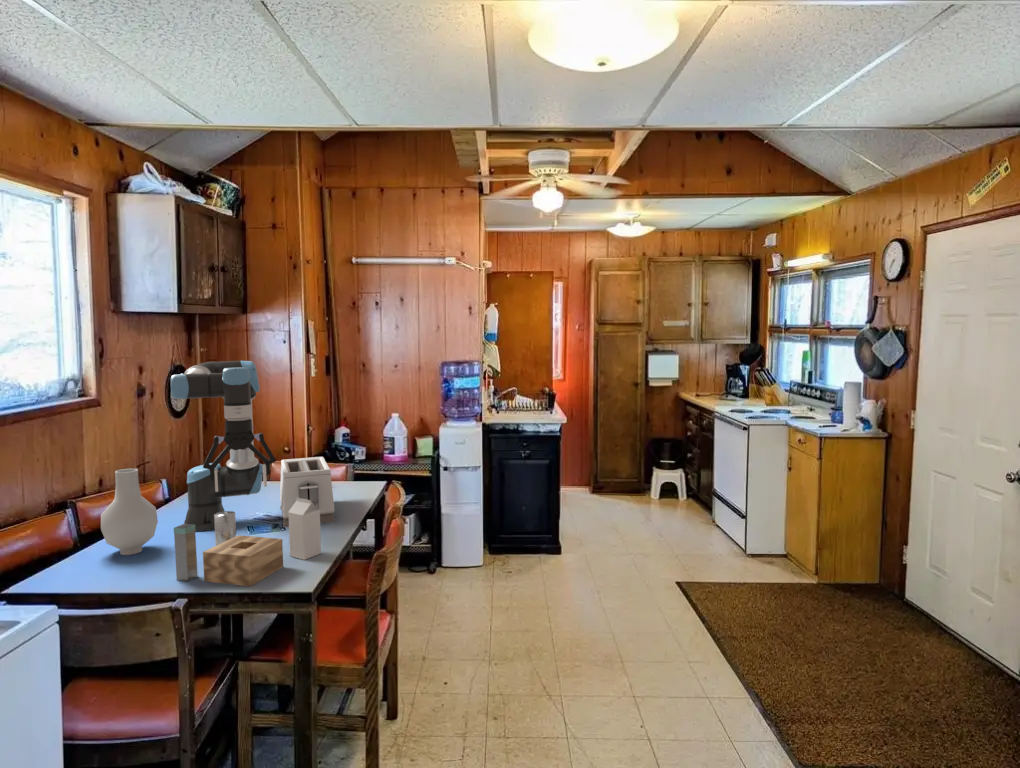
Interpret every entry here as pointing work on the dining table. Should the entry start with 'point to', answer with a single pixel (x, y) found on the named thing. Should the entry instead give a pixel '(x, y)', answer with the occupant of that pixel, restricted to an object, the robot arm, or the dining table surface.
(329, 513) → the toaster
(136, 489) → the vase
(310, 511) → the milk carton
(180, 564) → the square bit
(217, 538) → the round bit
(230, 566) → the socket block
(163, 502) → the dining table surface
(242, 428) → the robot arm
